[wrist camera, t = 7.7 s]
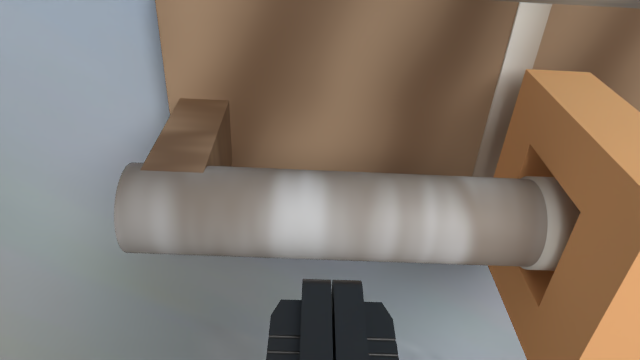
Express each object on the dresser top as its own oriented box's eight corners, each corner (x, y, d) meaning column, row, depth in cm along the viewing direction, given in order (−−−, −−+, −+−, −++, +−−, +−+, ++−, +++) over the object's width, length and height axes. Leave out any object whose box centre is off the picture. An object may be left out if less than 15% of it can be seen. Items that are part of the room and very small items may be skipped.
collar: (589, 72, 18) (767, 213, 11) (527, 237, 22) (624, 414, 15) (526, 69, 18) (663, 209, 11) (475, 236, 22) (549, 412, 15)
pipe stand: (717, 3, 20) (947, 90, 12) (604, 233, 26) (712, 376, 19) (163, -27, 19) (70, 47, 12) (192, 218, 25) (143, 360, 18)
